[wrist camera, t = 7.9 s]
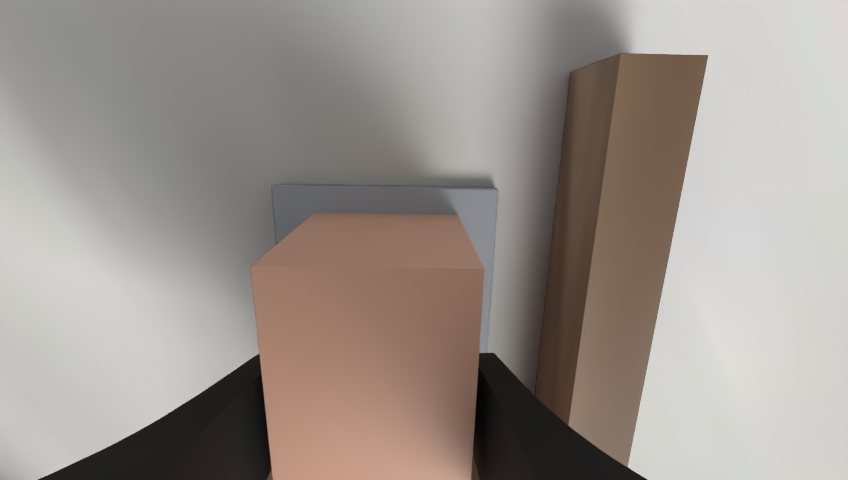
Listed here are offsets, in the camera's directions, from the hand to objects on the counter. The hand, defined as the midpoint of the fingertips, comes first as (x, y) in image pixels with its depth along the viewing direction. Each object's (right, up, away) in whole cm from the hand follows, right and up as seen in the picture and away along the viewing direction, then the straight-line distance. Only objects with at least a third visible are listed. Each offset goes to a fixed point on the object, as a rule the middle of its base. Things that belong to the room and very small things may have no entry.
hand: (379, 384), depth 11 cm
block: (0, +1, +3) cm, 3 cm away
